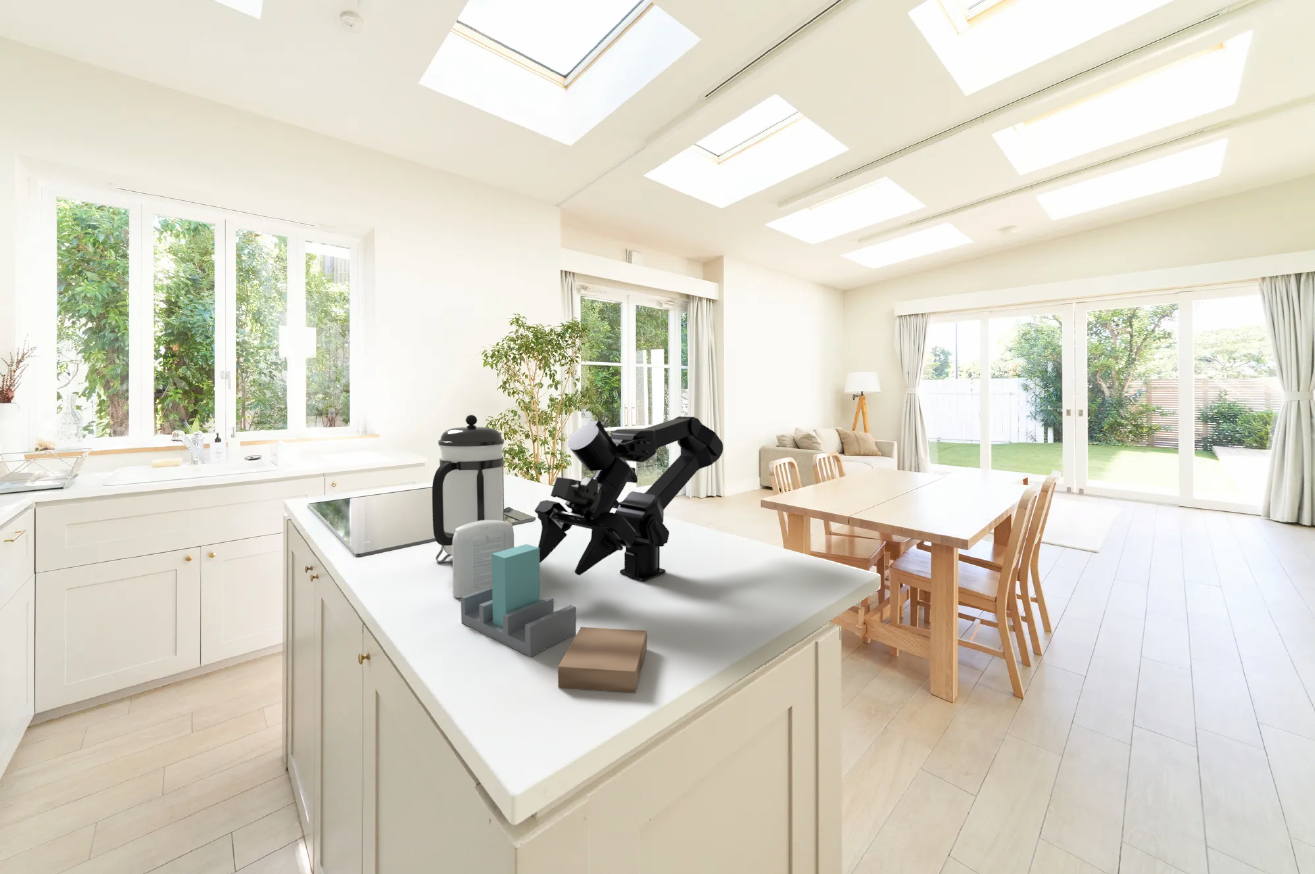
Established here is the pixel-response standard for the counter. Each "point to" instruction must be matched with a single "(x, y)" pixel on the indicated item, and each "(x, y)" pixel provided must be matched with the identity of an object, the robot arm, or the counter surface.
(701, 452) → the robot arm
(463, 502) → the coffee press
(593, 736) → the counter surface
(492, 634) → the rack
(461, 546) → the grey rounded slab
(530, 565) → the thick teal slab
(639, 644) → the brown block
